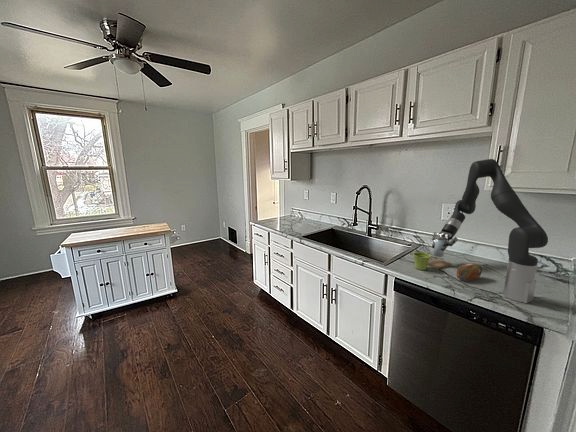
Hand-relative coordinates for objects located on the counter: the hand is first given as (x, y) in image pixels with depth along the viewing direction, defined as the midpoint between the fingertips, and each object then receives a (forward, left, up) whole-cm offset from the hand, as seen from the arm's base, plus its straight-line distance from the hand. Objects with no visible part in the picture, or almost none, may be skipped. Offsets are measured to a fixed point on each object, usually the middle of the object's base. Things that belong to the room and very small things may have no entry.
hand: (437, 248), depth 147 cm
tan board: (0, -2, -11) cm, 11 cm away
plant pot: (+1, +13, -11) cm, 17 cm away
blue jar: (0, -2, -5) cm, 5 cm away
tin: (-20, +3, -11) cm, 23 cm away
